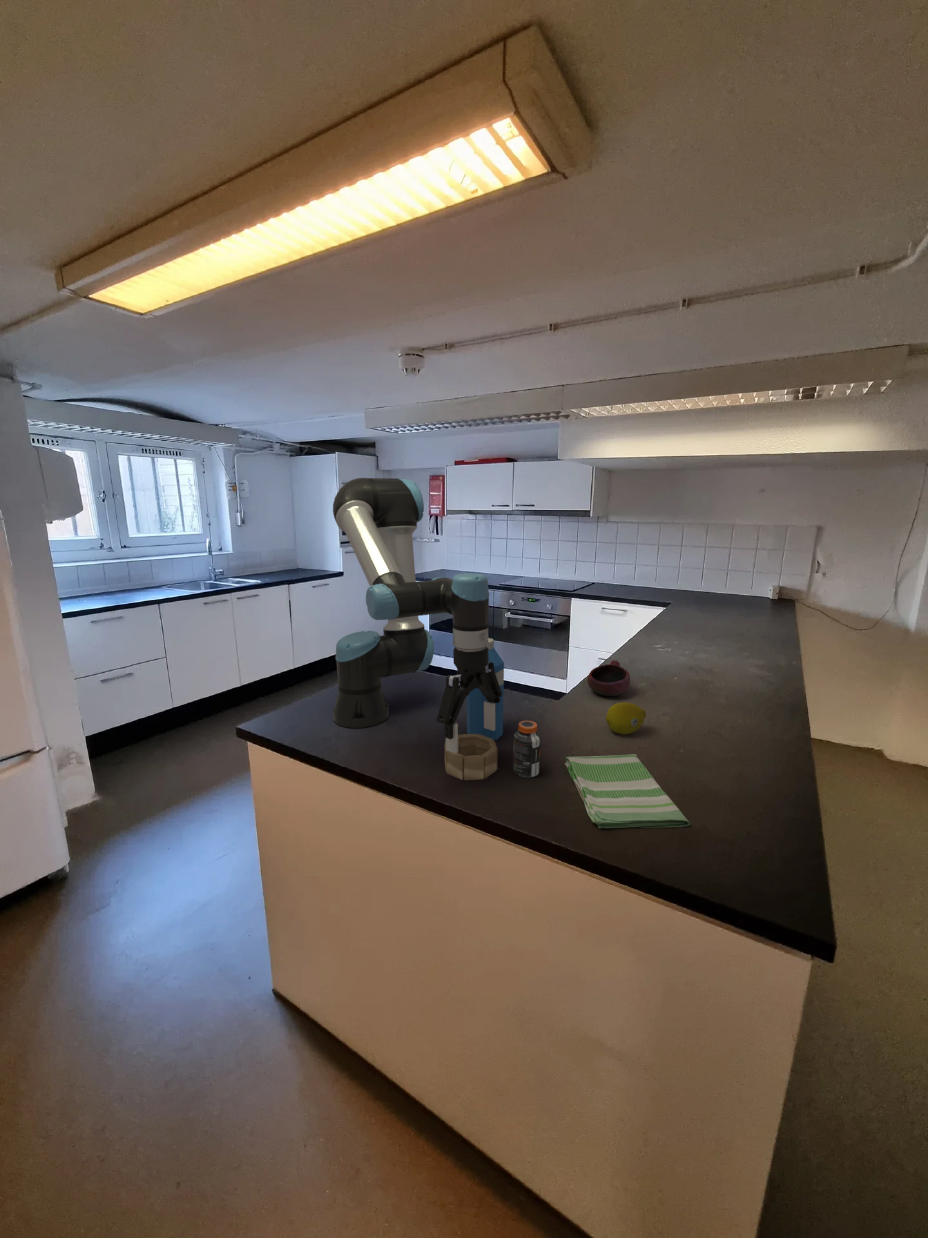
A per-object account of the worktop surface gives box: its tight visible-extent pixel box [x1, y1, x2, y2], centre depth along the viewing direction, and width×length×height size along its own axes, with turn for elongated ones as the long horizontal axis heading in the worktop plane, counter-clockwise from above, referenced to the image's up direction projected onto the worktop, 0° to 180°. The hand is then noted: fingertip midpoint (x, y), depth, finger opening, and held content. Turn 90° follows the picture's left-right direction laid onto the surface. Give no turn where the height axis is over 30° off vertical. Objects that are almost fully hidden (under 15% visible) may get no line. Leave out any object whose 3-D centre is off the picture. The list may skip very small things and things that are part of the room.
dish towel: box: [564, 754, 691, 829], centre depth 100 cm, size 18×23×3 cm
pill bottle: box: [512, 720, 542, 778], centre depth 106 cm, size 6×6×11 cm
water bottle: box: [466, 637, 505, 741], centre depth 122 cm, size 9×9×25 cm
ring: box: [444, 733, 498, 781], centre depth 109 cm, size 11×11×5 cm
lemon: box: [605, 701, 647, 735], centre depth 125 cm, size 11×8×8 cm
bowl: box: [586, 660, 631, 697], centre depth 152 cm, size 16×13×8 cm
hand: (471, 739), depth 108 cm, fingers open, 13 cm apart
